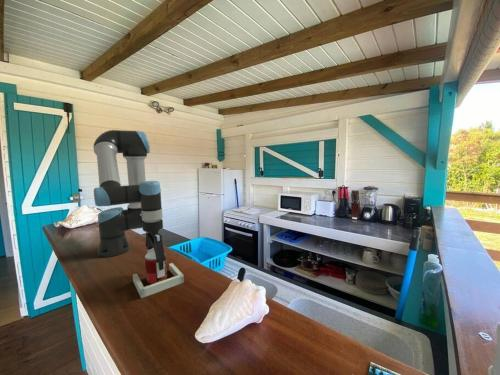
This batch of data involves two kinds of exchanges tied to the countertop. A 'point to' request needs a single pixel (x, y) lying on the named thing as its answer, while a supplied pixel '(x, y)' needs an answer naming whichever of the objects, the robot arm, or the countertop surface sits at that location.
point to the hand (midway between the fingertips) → (156, 269)
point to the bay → (160, 285)
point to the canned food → (153, 268)
